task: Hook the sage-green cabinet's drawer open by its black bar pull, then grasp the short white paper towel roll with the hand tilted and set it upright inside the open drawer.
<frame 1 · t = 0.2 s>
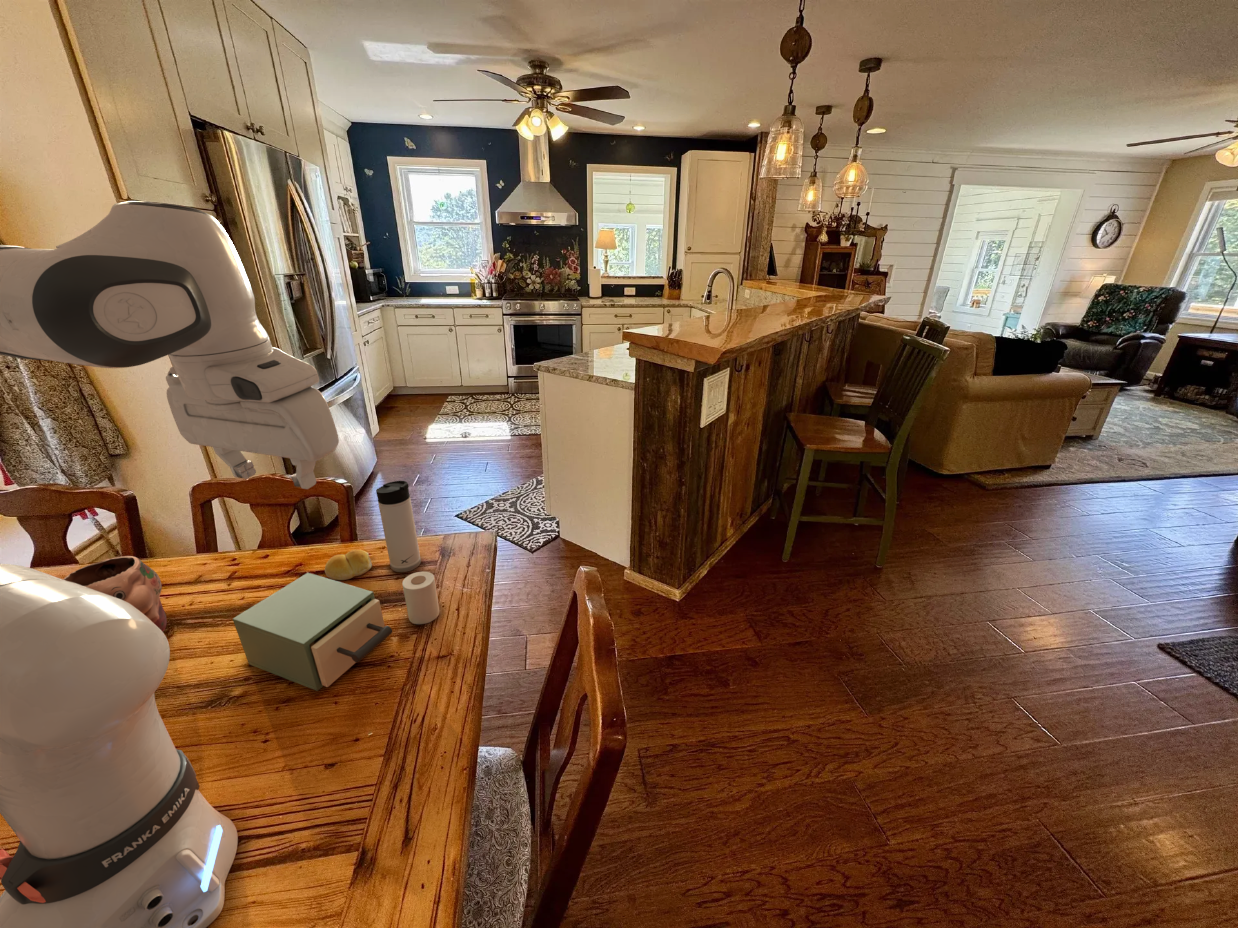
hand: (275, 481, 60), 38 cm above the table, tool pointing down, fingers open, 8 cm apart
travel mug: (407, 565, 110), on the table
drawer: (332, 634, 83), point 5 cm above the table, slide at 0.5 cm
paper towel roll: (424, 614, 95), on the table
bread roll: (350, 570, 108), on the table
cabinet: (318, 648, 86), on the table
decorative planter: (132, 632, 89), on the table
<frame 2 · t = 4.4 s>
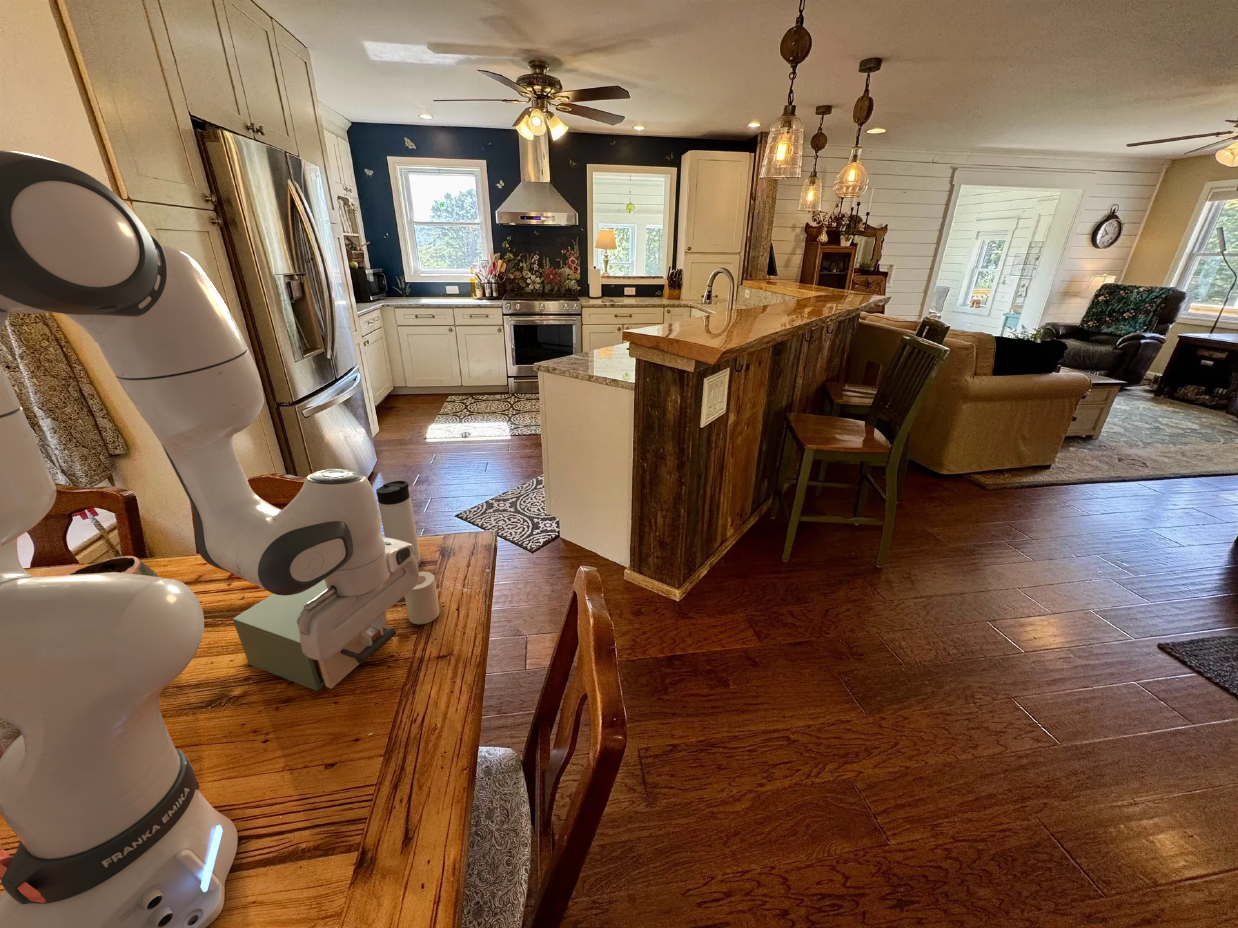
hand: (373, 639, 80), 6 cm above the table, tool pointing down, fingers closed, pressing on drawer
drawer: (336, 635, 83), point 5 cm above the table, slide at 1.3 cm, touching gripper
everything else where it was.
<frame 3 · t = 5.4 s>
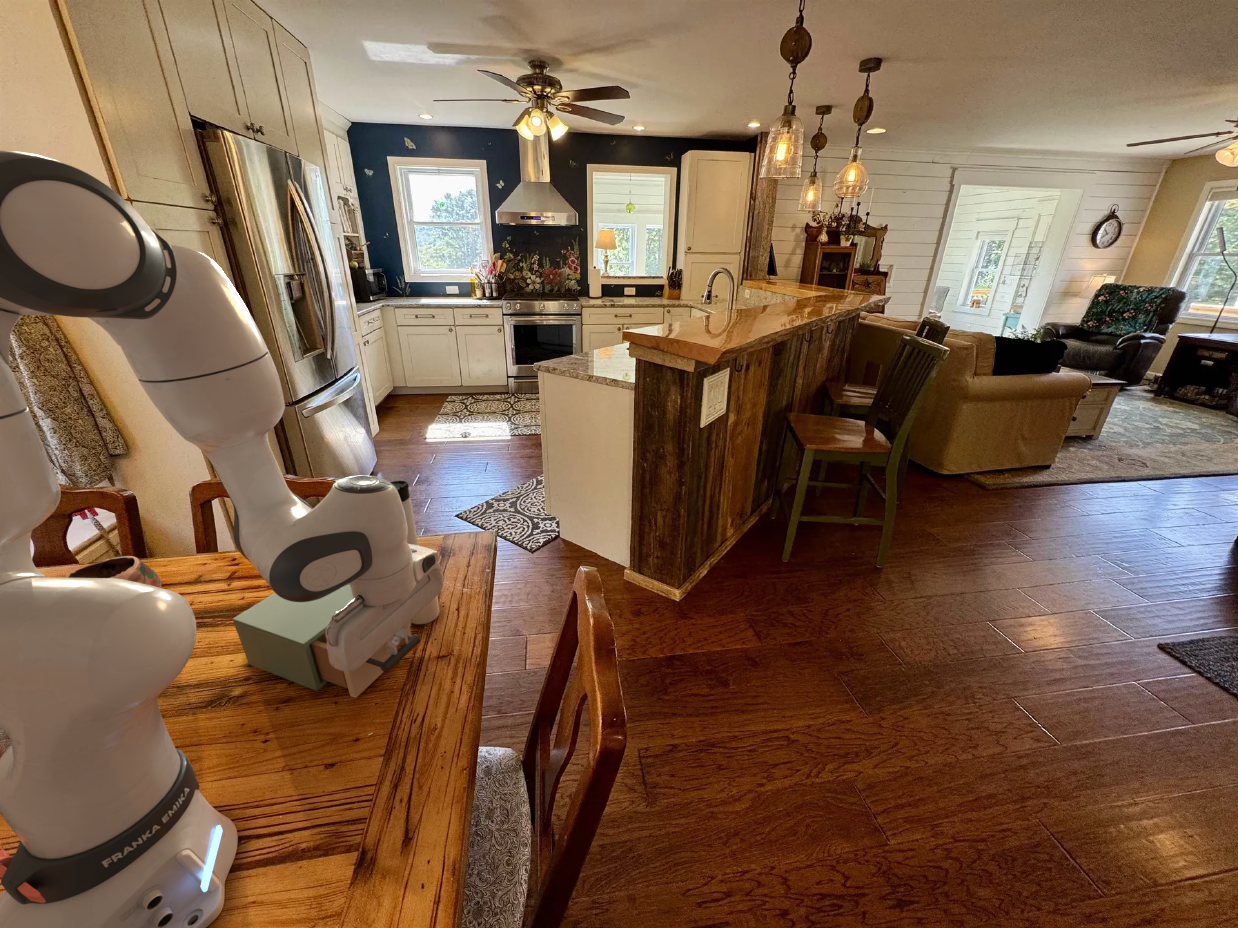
hand: (398, 648, 78), 6 cm above the table, tool pointing down, fingers closed, pressing on drawer
drawer: (359, 643, 81), point 5 cm above the table, slide at 6.3 cm, touching gripper
everything else where it was.
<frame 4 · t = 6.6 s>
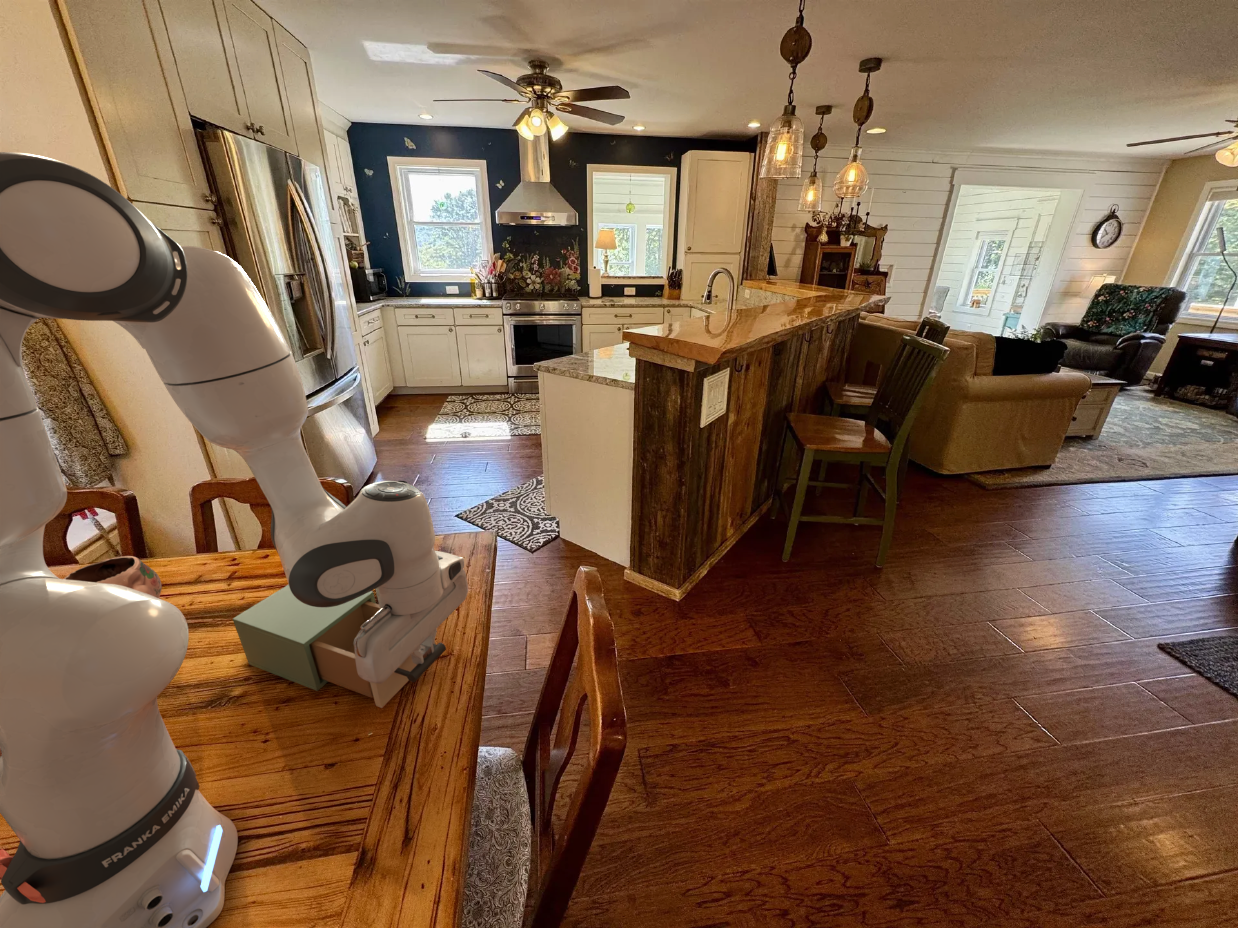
hand: (424, 657, 77), 6 cm above the table, tool pointing down, fingers closed, pressing on drawer
drawer: (383, 651, 79), point 5 cm above the table, slide at 11.4 cm, touching gripper
everything else where it was.
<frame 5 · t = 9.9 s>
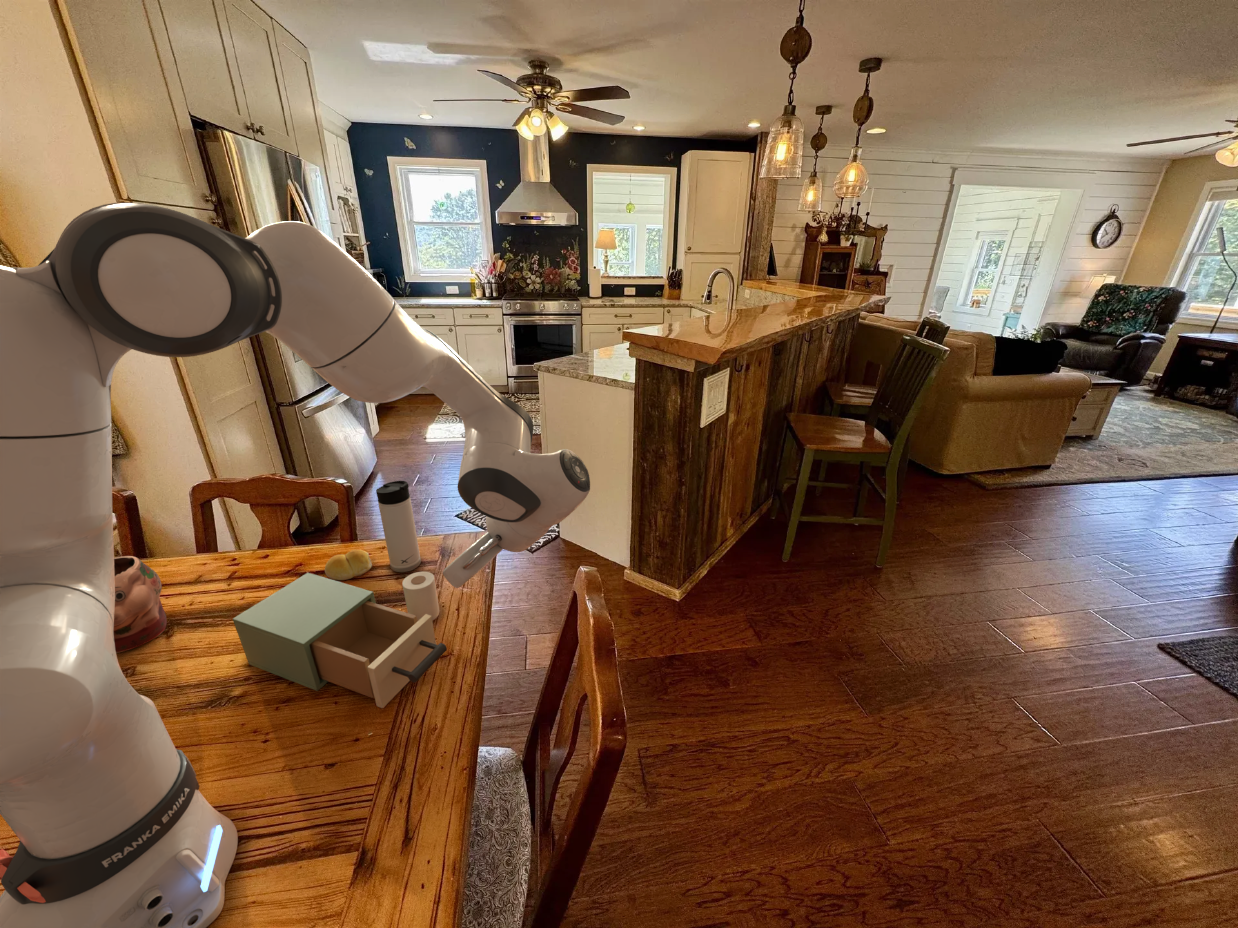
hand: (470, 562, 85), 15 cm above the table, tool tilted 45°, fingers closed
drawer: (384, 651, 79), point 5 cm above the table, slide at 11.6 cm
everything else where it was.
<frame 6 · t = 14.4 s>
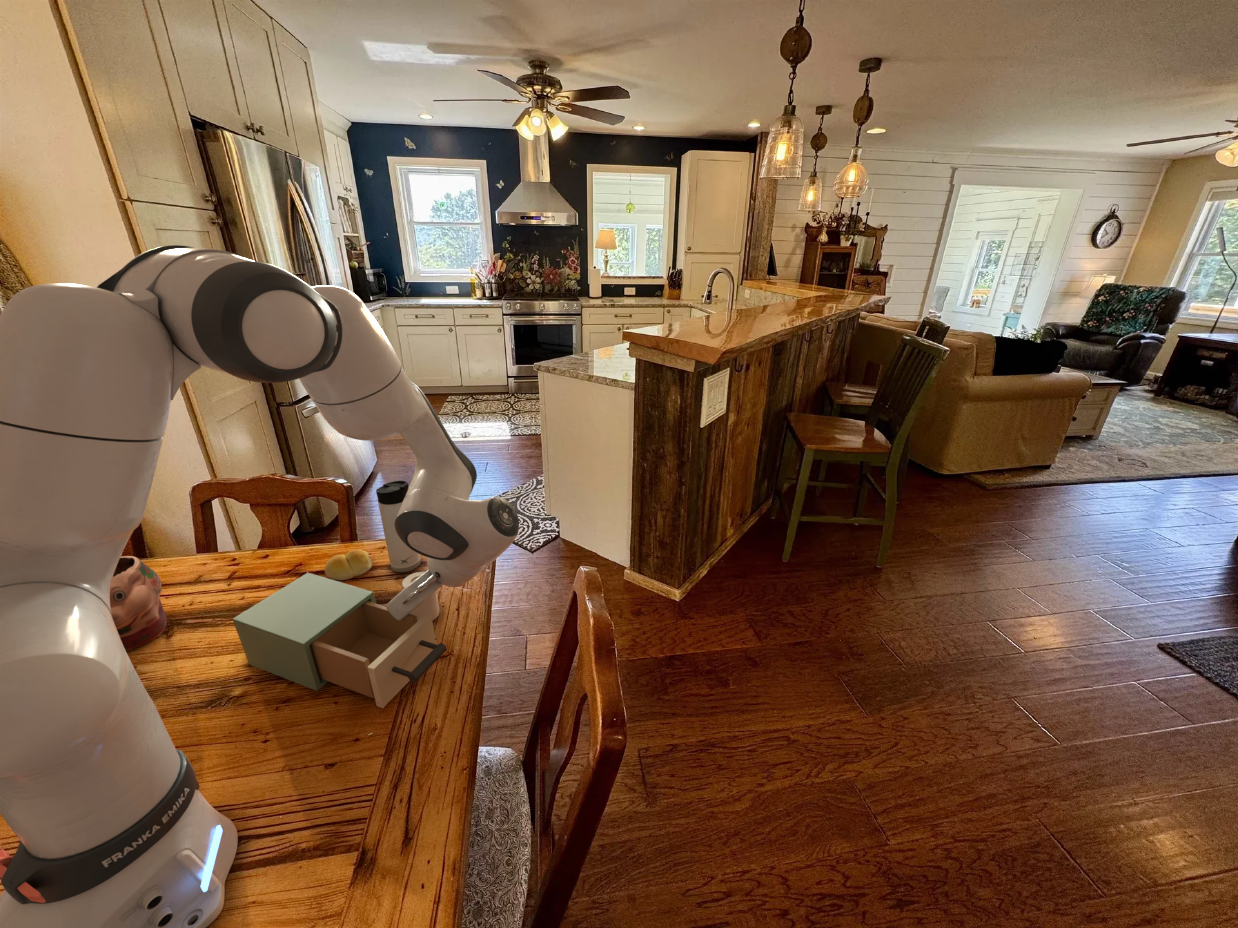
hand: (418, 592, 93), 5 cm above the table, tool tilted 45°, fingers closed on paper towel roll, 5 cm apart
paper towel roll: (424, 614, 95), on the table, touching gripper
everything else where it was.
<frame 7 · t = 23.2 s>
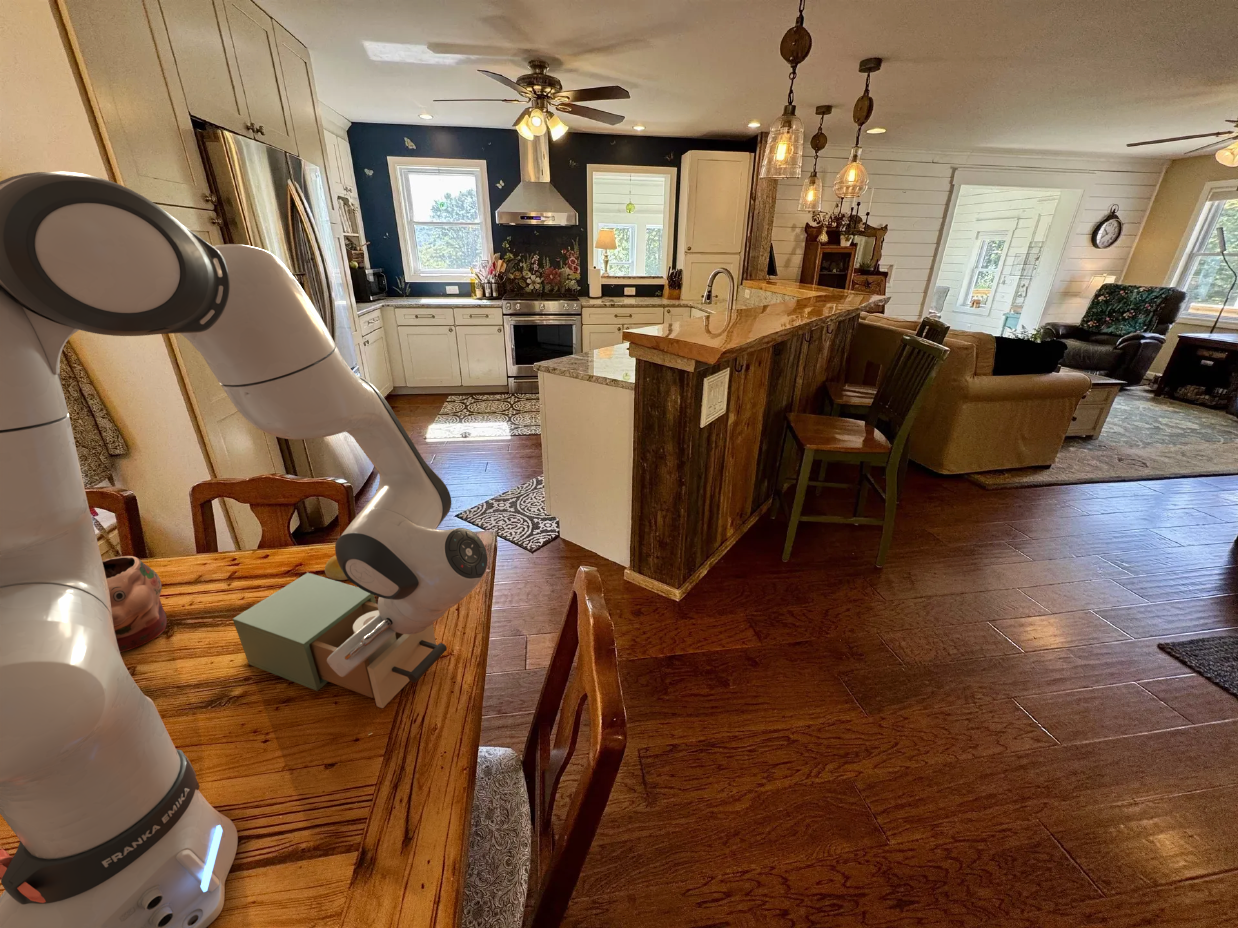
hand: (373, 636, 79), 7 cm above the table, tool tilted 45°, fingers closed on paper towel roll, 5 cm apart
drawer: (384, 651, 79), point 5 cm above the table, slide at 11.6 cm, touching gripper
paper towel roll: (381, 660, 81), point 2 cm above the table, touching gripper
everything else where it was.
when the fingers open (9 cm above the table, at t = 33.5 s): paper towel roll stays where it is, resting on drawer.
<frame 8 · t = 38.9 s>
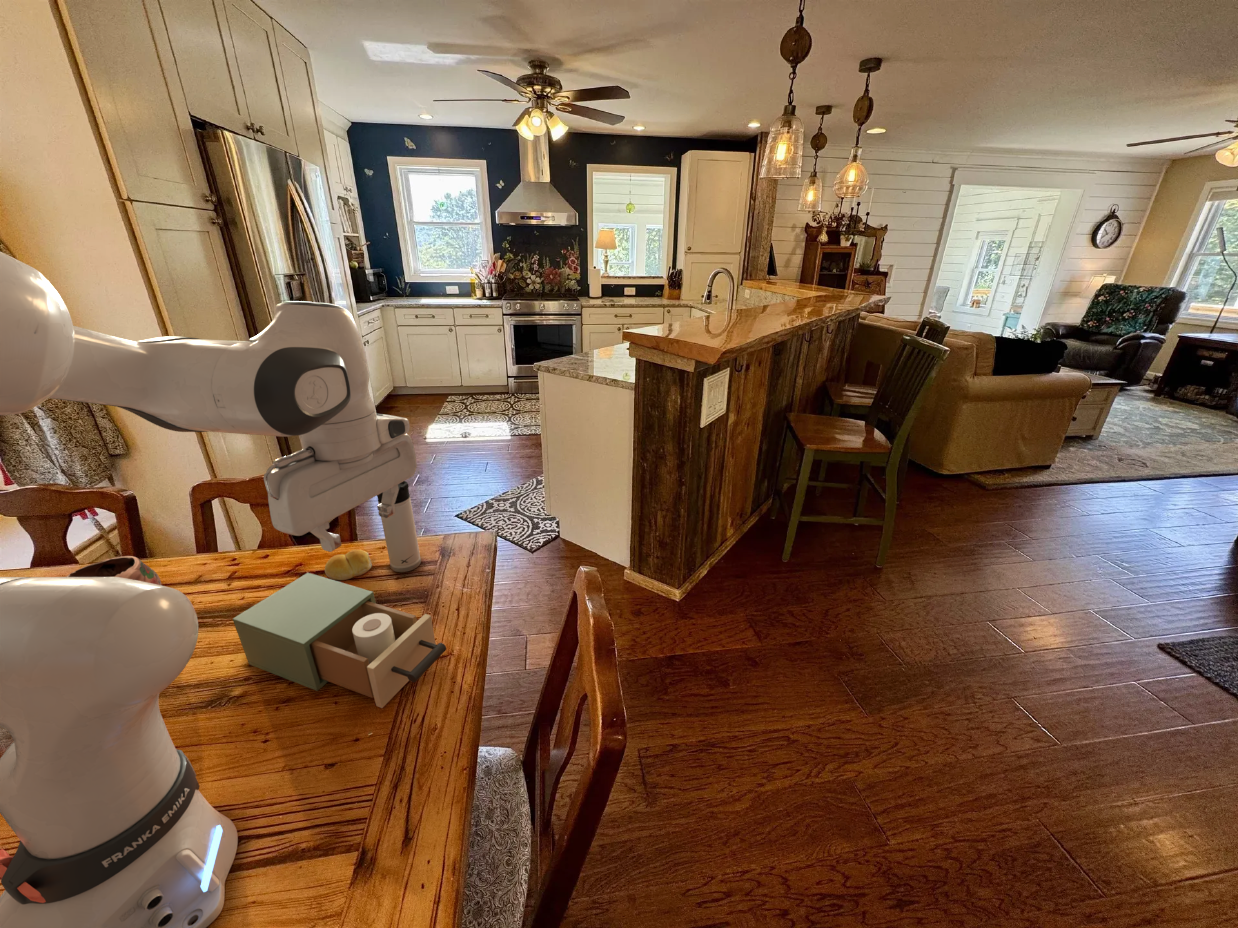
hand: (361, 530, 67), 29 cm above the table, tool pointing down, fingers open, 8 cm apart
drawer: (383, 651, 79), point 5 cm above the table, slide at 11.5 cm, touching paper towel roll
paper towel roll: (380, 663, 81), point 2 cm above the table, touching drawer
everything else where it was.
at the end: drawer slide at 11.5 cm; paper towel roll inside the target area in the drawer (1.0 cm from its centre), point 2.0 cm above the cabinet's base; paper towel roll tilted 0° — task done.
